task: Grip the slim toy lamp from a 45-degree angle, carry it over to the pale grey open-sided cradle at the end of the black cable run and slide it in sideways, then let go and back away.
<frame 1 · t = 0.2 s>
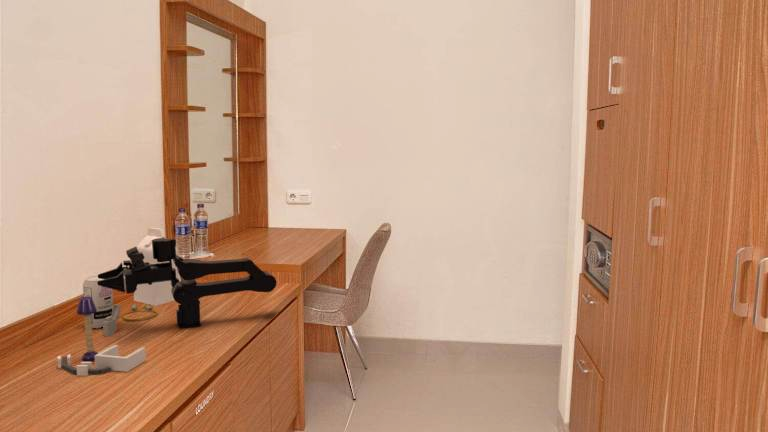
hand: (97, 279, 176), 17 cm above the table, tool horizontal, fingers open, 9 cm apart
supplement can: (99, 325, 187), on the table
lighter: (112, 333, 180), on the table
cable run: (189, 324, 189), on the table
clip a: (64, 366, 154), on the table
clip b: (84, 373, 149), on the table
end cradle: (122, 363, 156), on the table
toy lamp: (89, 359, 159), on the table
extension cord: (140, 316, 199), on the table
milk: (158, 300, 217), on the table
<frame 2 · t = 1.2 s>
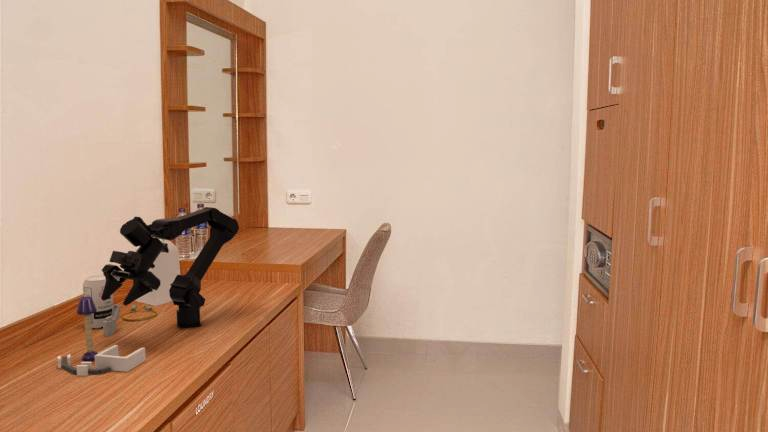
hand: (113, 302, 164), 13 cm above the table, tool tilted 45°, fingers open, 9 cm apart
nothing on the table moved.
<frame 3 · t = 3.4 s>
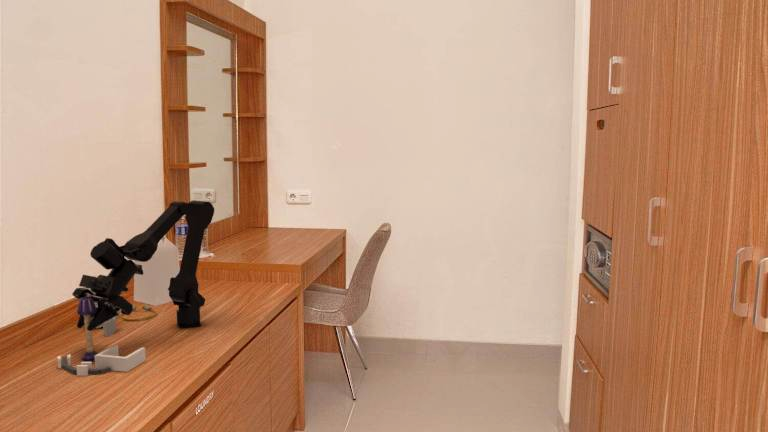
hand: (83, 328, 157), 9 cm above the table, tool tilted 45°, fingers closed on toy lamp, 4 cm apart
toy lamp: (89, 359, 159), on the table, touching gripper
everything else where it was.
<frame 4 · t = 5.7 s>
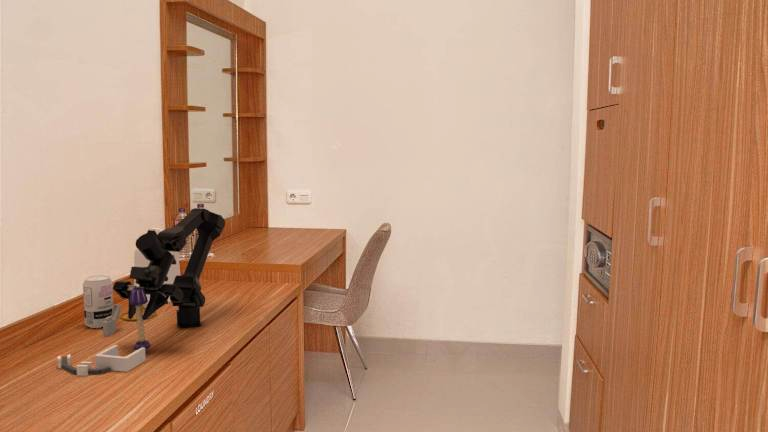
hand: (136, 319, 161), 10 cm above the table, tool tilted 45°, fingers closed on toy lamp, 4 cm apart
toy lamp: (140, 348, 164), point 1 cm above the table, touching gripper
everything else where it was.
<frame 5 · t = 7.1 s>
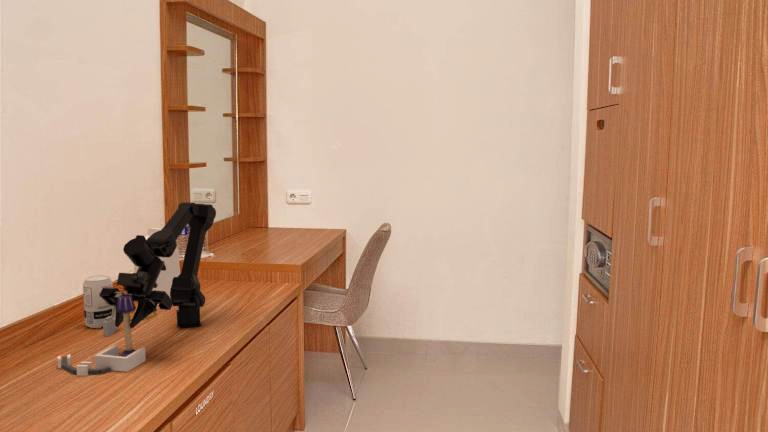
hand: (123, 326, 156), 10 cm above the table, tool tilted 45°, fingers closed on toy lamp, 4 cm apart
toy lamp: (128, 357, 158), point 1 cm above the table, touching gripper
everything else where it was.
when the fingers open (9 cm above the table, at t = 8.0 s): toy lamp stays where it is, on the table.
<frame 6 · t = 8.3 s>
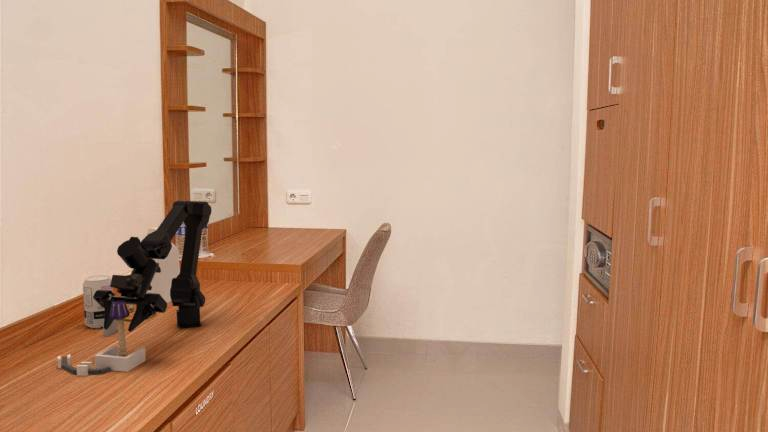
hand: (117, 330, 153), 10 cm above the table, tool tilted 45°, fingers open, 7 cm apart
toy lamp: (122, 364, 156), on the table
everything else where it was.
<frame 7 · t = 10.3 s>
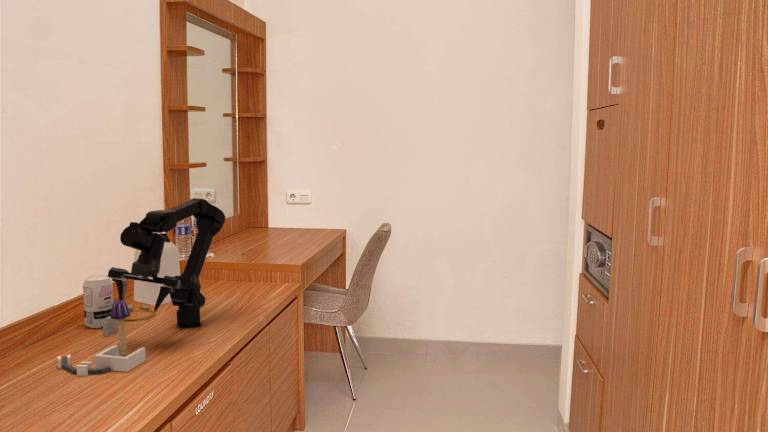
hand: (138, 309, 167), 11 cm above the table, tool tilted 25°, fingers open, 9 cm apart
nothing on the table moved.
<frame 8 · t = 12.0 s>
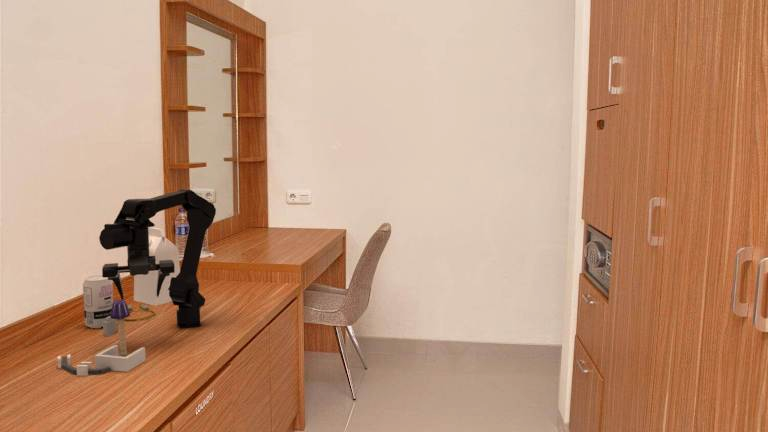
hand: (140, 298, 171), 13 cm above the table, tool pointing down, fingers open, 9 cm apart
nothing on the table moved.
at the end: toy lamp inside the target area on the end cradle (0.3 cm from its centre), point 0.0 cm above the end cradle's base; toy lamp tilted 0°; the gripper is holding nothing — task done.
